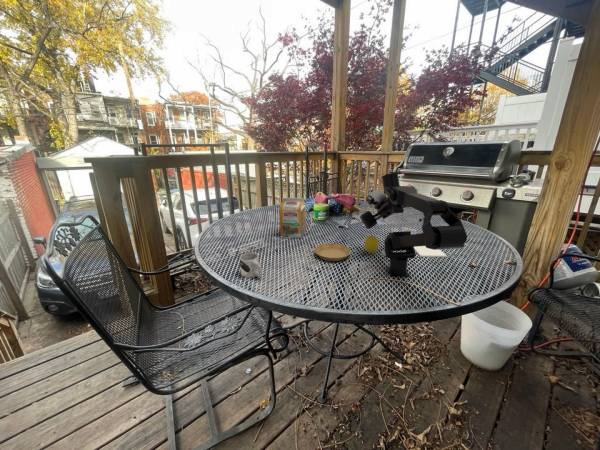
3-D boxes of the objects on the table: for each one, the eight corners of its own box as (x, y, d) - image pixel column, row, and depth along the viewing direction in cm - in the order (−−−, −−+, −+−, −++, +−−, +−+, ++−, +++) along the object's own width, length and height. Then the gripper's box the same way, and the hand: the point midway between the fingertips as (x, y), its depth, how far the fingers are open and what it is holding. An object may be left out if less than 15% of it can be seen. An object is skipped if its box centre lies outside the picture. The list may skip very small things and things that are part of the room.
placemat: (446, 257, 100) (446, 255, 100) (420, 256, 101) (420, 255, 101) (431, 243, 113) (431, 242, 113) (408, 243, 114) (408, 242, 114)
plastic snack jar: (280, 237, 124) (278, 199, 118) (286, 230, 134) (285, 195, 128) (301, 239, 122) (300, 200, 116) (306, 232, 131) (305, 196, 126)
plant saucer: (308, 251, 108) (308, 246, 107) (339, 246, 113) (339, 241, 112) (324, 266, 95) (324, 260, 94) (357, 260, 100) (358, 253, 99)
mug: (237, 273, 91) (235, 256, 89) (252, 267, 95) (251, 251, 93) (253, 283, 84) (251, 265, 82) (269, 276, 88) (268, 259, 86)
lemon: (367, 249, 109) (368, 232, 106) (380, 252, 105) (381, 234, 103) (361, 253, 105) (362, 235, 102) (374, 257, 101) (375, 238, 99)
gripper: (398, 176, 96) (382, 191, 111) (357, 198, 93) (347, 211, 108) (415, 200, 94) (397, 212, 109) (374, 224, 91) (362, 233, 106)
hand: (376, 217), depth 108 cm, fingers open, 9 cm apart
